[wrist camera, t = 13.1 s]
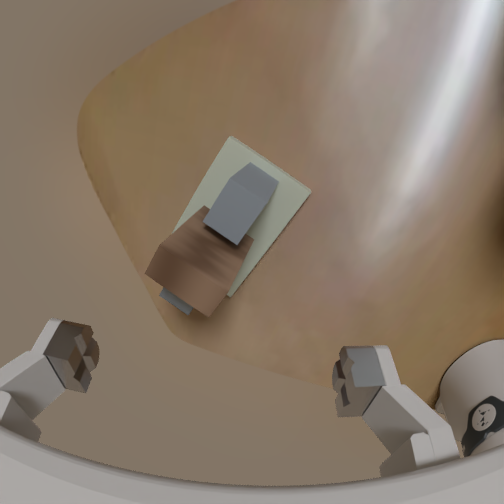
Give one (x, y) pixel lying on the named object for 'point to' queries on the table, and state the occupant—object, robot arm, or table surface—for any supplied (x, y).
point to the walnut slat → (198, 263)
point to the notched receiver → (244, 204)
